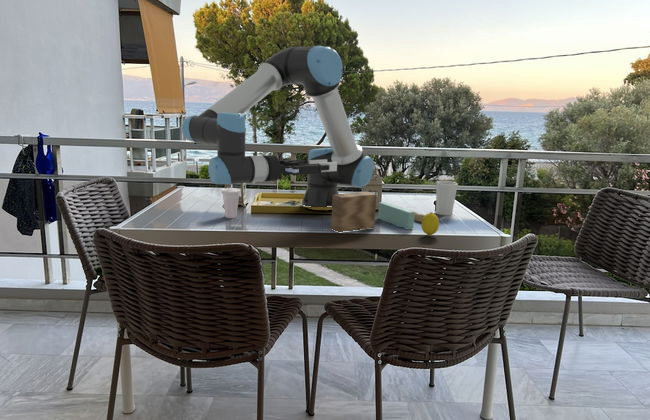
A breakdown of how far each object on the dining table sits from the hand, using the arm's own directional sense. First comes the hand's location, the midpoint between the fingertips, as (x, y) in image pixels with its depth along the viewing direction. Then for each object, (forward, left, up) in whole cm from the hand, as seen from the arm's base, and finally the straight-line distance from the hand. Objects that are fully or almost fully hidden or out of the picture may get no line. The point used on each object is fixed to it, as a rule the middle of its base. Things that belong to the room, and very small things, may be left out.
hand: (331, 165), depth 155 cm
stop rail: (+18, +21, -22) cm, 36 cm away
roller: (+26, +31, -20) cm, 45 cm away
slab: (+6, +7, -22) cm, 24 cm away
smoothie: (-37, +4, -22) cm, 43 cm away
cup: (+33, +46, -22) cm, 61 cm away
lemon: (+31, +11, -22) cm, 40 cm away
